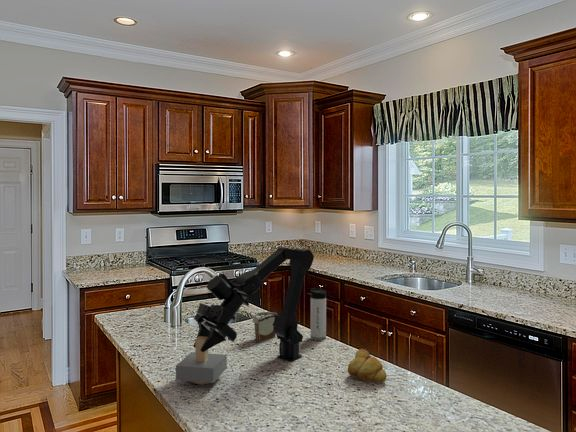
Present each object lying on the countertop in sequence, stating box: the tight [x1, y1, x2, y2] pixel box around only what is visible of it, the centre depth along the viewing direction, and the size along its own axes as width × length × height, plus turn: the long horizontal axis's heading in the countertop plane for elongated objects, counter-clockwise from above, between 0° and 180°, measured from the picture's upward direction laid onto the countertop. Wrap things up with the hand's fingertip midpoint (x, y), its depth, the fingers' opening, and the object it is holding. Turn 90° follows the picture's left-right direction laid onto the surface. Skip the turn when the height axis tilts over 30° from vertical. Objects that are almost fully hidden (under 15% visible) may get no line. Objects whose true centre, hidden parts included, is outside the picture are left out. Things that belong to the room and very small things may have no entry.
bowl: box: [190, 381, 208, 385], centre depth 147 cm, size 7×7×3 cm
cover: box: [175, 336, 228, 384], centre depth 146 cm, size 12×12×11 cm
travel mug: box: [310, 287, 327, 341], centre depth 190 cm, size 6×7×20 cm
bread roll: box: [347, 348, 387, 384], centre depth 149 cm, size 13×10×8 cm
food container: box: [252, 311, 278, 344], centre depth 190 cm, size 12×6×10 cm, turn 141°
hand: (197, 349), depth 145 cm, fingers closed on cover, 4 cm apart
